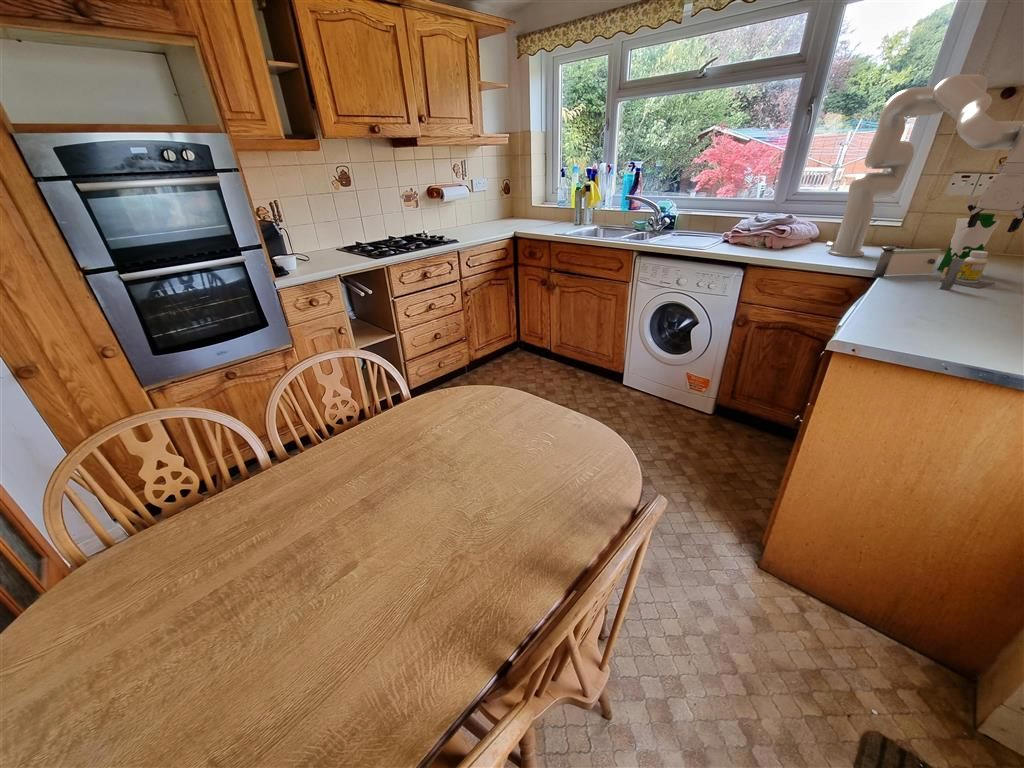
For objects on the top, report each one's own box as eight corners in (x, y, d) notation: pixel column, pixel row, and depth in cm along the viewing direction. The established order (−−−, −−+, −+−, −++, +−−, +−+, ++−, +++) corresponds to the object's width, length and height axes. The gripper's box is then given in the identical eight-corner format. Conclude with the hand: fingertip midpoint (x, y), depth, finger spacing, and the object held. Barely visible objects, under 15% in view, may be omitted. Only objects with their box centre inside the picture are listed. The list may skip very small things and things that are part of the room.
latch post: (935, 288, 139) (948, 258, 135) (940, 287, 140) (953, 257, 135) (945, 290, 137) (959, 260, 132) (950, 289, 138) (964, 259, 133)
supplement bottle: (980, 283, 140) (994, 253, 136) (959, 282, 142) (972, 253, 138) (973, 279, 145) (986, 250, 140) (952, 278, 147) (965, 249, 142)
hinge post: (869, 275, 155) (879, 246, 150) (875, 274, 156) (886, 245, 151) (881, 278, 152) (891, 248, 147) (887, 276, 153) (898, 247, 148)
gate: (887, 275, 152) (897, 251, 148) (882, 274, 154) (891, 250, 150) (934, 274, 152) (944, 250, 148) (928, 272, 154) (938, 248, 150)
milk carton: (951, 275, 152) (978, 215, 142) (931, 269, 160) (956, 211, 150) (978, 275, 151) (1007, 214, 142) (957, 269, 159) (983, 211, 149)
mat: (940, 281, 146) (940, 280, 146) (956, 277, 149) (956, 276, 149) (978, 288, 138) (978, 287, 138) (994, 283, 141) (995, 282, 141)
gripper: (975, 169, 133) (950, 227, 142) (1055, 170, 119) (1021, 235, 128) (988, 167, 136) (962, 224, 144) (1067, 169, 122) (1033, 232, 130)
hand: (990, 229), depth 136 cm, fingers open, 9 cm apart
